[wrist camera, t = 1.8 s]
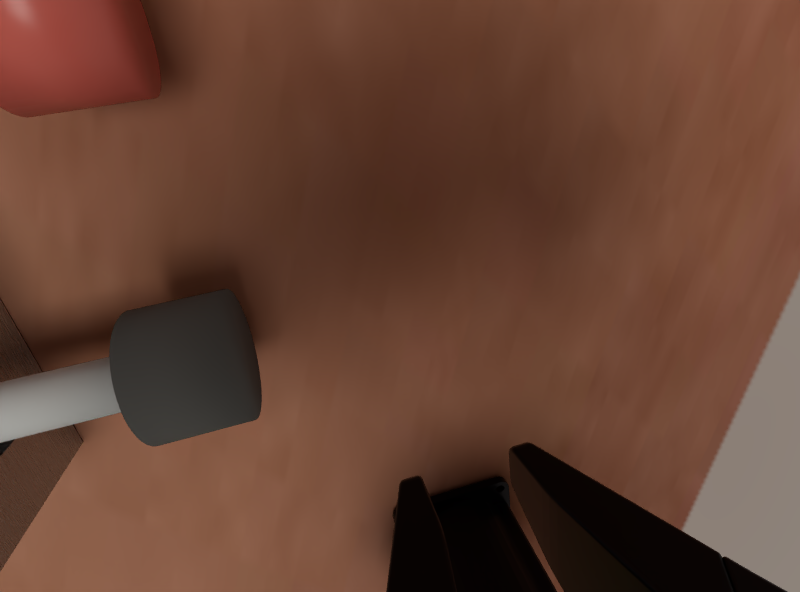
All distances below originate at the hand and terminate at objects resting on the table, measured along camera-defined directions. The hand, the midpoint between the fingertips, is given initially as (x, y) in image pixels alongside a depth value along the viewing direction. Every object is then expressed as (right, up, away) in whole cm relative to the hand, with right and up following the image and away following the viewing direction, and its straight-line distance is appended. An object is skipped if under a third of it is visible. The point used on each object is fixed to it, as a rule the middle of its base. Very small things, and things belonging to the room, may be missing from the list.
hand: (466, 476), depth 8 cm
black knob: (-13, +1, +7) cm, 15 cm away
